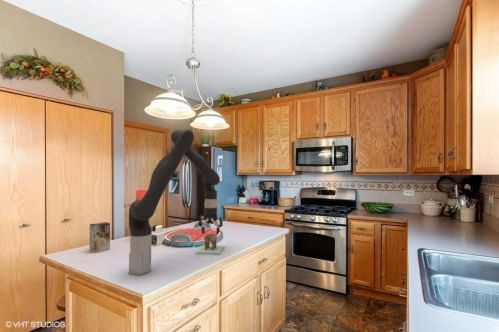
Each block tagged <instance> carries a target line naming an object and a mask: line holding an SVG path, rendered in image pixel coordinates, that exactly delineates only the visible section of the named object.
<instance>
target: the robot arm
mask: <svg viewBox="0 0 499 332" xmlns="http://www.w3.org/2000/svg"><path fill="white" fill-rule="evenodd" d="M170 139H171V142H172V143H173V147H172V148H171V150H170V151H169V152H167V154H166V155H164V156H163V157H162V158H161V159H160V160H159V162H158V163H157V164H156V166H155V168H154V169H153V171H152V173H151V176H150V182H149V185H148V189H146V191H147V192H146V194H145V195H144V197H143V199H142V200H136V199H135V200H136V201H135V200H134V201H133V202H132V203H131V204H130V206H129V209H128V228H129V231H130V236H129V237H130V238H129V240H130V241H129V244H130V245H129V254H128V256H129V257H128V275H130V276H131V275H133V276H134V275H135V276H142V275H145V274H148V273H149V272H151V270H152V245H151V237H152V233H153V232H152V227H151V224H150V219H151V218H152V217H153V216H154V214H155V212H156V210H157V207H158V205H159V203H160V200H161V198H162V196H163V195H164V193H165V191H166V189H167V187H168V186H169V183H170V181H171V180H172V179H173V176H174V174H175V172H176V170H177V169H178V167H179V165H180V163H181V162H182V160H183V158H184V156H185V157H186V158H187V159H188V160H189V161H190V162H191V163H192V164H193V166H194V167H195V169H196V170H197V172H198V173H199V174H200V175H202V176H203V177H202V185H203V188H204V193H205V194H204V205H203V206H204V215H200V216H199V217H198V226H199V228H200V227H201V233H202V235H204V234H205V232H206V230H205V229H206V225H210V224H211V225H214V226H215V227H216V234H217V235H219V234H220V228H222V227H223V223H224V222H223V221H224V220H223V216H222V215H221V216H219V215H218V190H217V189H216V188H214V187H213V186H217V185H219V183H220V179H221V178H220V175H219V173H218V172H217V171H215V170H214V168H212V167H211V166H210V164H209V163H208V161H206V159H205V158H204V157H203V156H202V155H201V154H199V153H198V151H196V150H195V149H194V148H193V147H192V145H193V143H194V139H195V135H194V132H193V131H192V130H191V129H189V128H181V129H180V128H179V129H176V130H173V131H172V133H171V136H170ZM203 220H204V222H203ZM217 220H218V221H219V223H218V221H217Z"/></svg>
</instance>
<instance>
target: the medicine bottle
mask: <svg viewBox="0 0 499 332" xmlns="http://www.w3.org/2000/svg"><path fill="white" fill-rule="evenodd" d="M151 229H152V237H151V246H154V247H155V246H156V247H157V246H160V245H163V244H162V242H163V240H164V239H165V240H166V232H164V231H163V225H161V224H155V225H153V226H152V227H151Z"/></svg>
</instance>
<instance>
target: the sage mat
mask: <svg viewBox="0 0 499 332" xmlns="http://www.w3.org/2000/svg"><path fill="white" fill-rule="evenodd" d="M225 248H226V247H225V245H216V248H215V250H212V244H209V248H207V250H205V244H202V245H201V246H200V247H199V248H198V249H197V250H196V251H195V254H194V255H208V254H215V255H216V256H219V254H220V255H221V253H222V252H223V251H222V250H225ZM215 255H214V256H215Z"/></svg>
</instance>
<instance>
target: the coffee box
mask: <svg viewBox="0 0 499 332" xmlns="http://www.w3.org/2000/svg"><path fill="white" fill-rule="evenodd" d="M110 235H111V222H107V221H103V222H96V223H89V250H88V251H89V252H90V253H93V254H97V253H100V252H101V253H102V252H105V251H109V250H110V249H111V236H110Z"/></svg>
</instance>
